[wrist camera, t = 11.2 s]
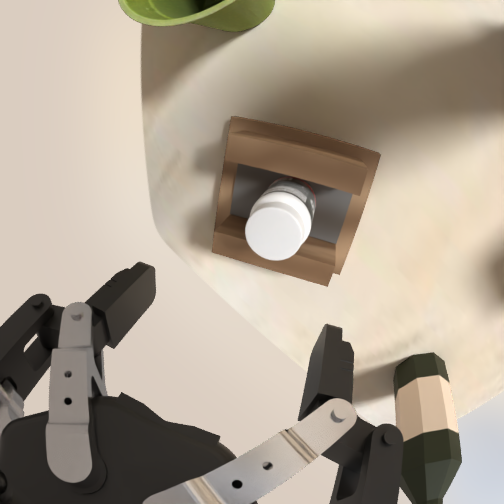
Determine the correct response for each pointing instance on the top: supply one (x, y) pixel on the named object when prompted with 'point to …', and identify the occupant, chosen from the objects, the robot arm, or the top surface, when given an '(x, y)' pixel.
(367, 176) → the cradle
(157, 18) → the plant pot
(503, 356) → the top surface
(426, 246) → the top surface
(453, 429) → the wine bottle
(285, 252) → the pill bottle
